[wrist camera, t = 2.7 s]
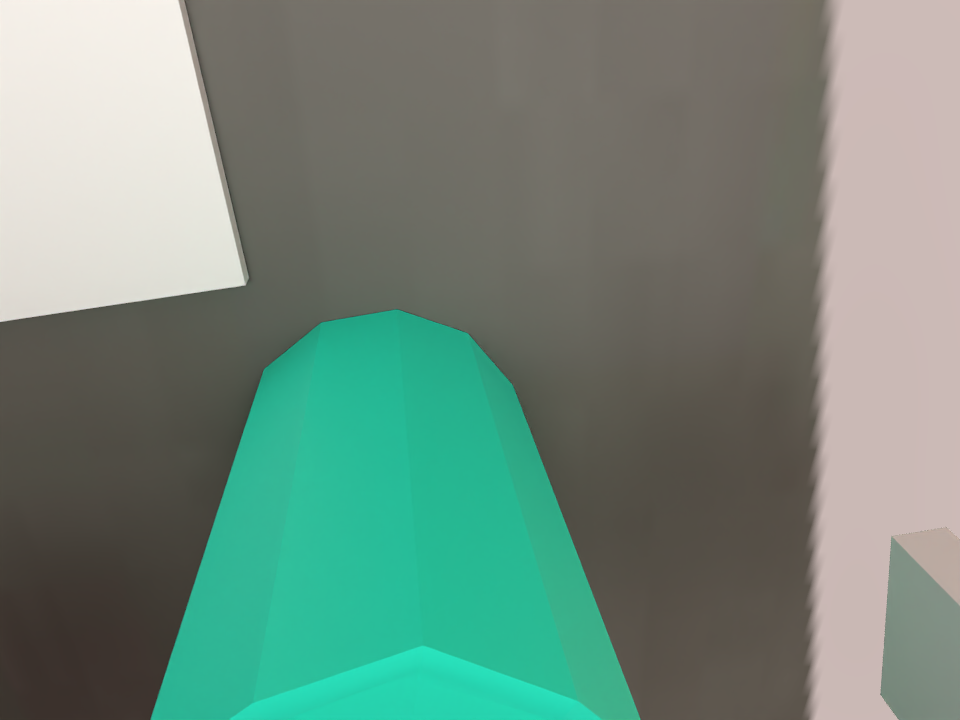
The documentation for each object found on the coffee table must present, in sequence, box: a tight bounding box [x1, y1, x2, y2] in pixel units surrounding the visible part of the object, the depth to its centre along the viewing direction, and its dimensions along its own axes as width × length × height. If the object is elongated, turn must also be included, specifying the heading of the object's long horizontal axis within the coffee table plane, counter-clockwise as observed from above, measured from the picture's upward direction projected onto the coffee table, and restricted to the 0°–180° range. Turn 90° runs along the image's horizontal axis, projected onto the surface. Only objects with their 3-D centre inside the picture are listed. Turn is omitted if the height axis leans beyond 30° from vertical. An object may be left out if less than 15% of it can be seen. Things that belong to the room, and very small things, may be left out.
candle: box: [150, 309, 641, 720], centre depth 13 cm, size 6×6×12 cm
